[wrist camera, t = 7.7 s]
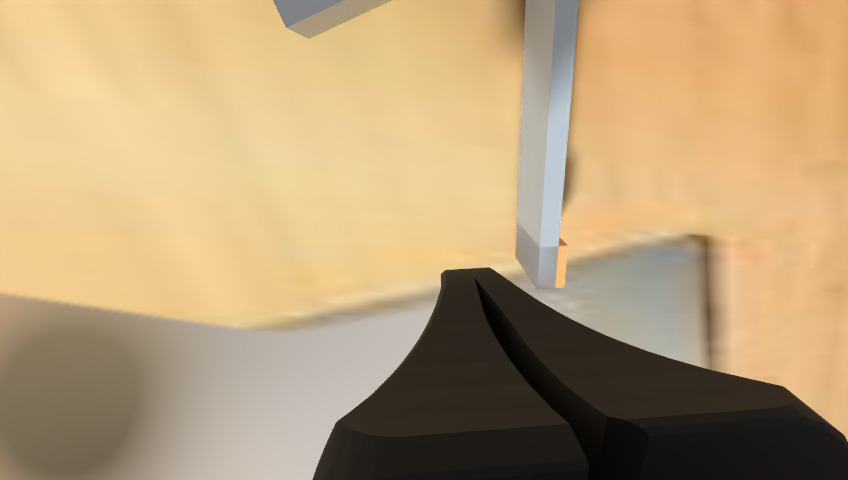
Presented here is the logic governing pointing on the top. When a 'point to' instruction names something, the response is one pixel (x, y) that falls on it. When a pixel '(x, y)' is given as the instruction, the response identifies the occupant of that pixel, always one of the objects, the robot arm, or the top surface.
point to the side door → (545, 137)
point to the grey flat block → (321, 13)
